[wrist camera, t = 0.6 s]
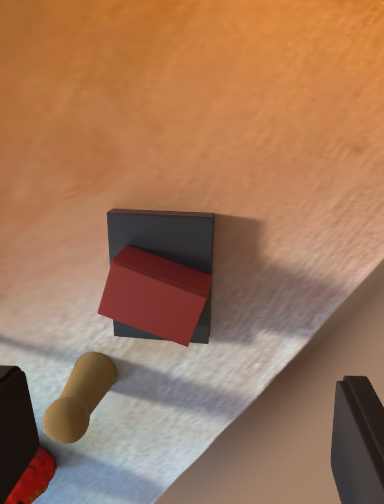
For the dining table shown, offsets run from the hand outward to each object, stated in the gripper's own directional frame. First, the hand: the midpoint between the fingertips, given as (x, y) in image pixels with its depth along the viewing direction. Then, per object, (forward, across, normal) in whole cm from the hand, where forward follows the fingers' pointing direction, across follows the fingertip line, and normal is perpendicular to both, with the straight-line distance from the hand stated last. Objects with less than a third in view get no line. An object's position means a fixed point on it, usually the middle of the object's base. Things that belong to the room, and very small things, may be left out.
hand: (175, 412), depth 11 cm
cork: (+33, +18, +22) cm, 44 cm away
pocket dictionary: (+31, +7, +8) cm, 33 cm away
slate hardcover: (+33, +8, +8) cm, 35 cm away
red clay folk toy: (+34, +30, +38) cm, 59 cm away
